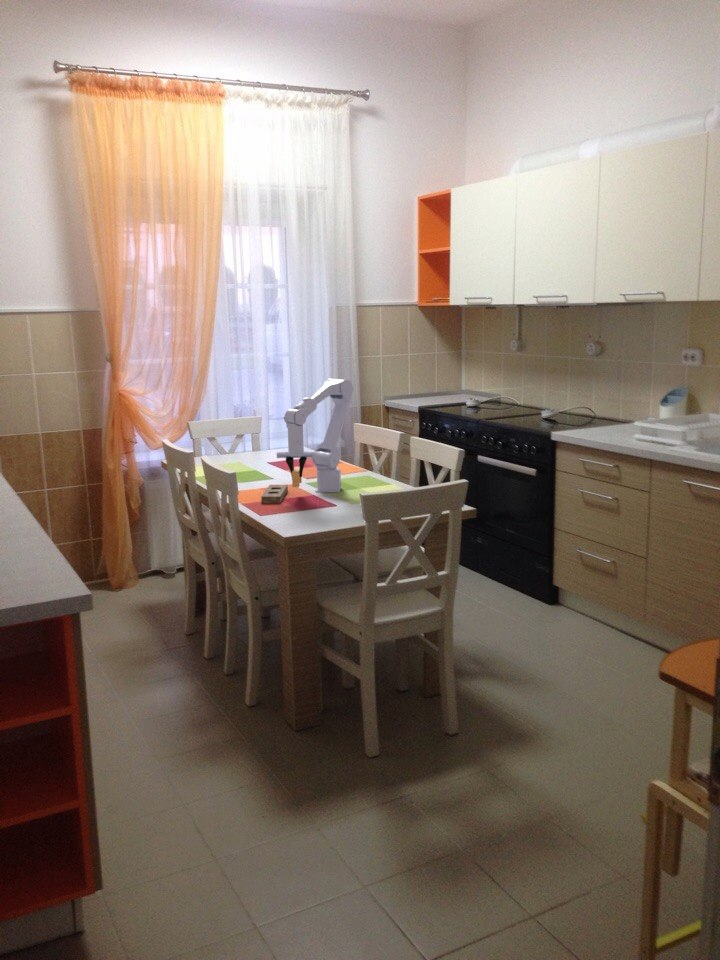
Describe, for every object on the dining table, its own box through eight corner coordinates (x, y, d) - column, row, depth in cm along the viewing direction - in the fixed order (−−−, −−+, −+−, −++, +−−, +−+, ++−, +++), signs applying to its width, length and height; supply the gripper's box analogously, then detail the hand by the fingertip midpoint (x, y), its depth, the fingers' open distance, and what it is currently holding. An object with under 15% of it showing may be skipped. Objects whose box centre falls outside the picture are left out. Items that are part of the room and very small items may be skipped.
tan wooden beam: (301, 481, 317) (301, 466, 316) (298, 487, 308) (298, 471, 306) (295, 481, 317) (295, 466, 316) (292, 487, 308) (291, 471, 306)
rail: (287, 490, 324) (287, 484, 323) (280, 503, 304) (280, 496, 303) (269, 490, 324) (269, 484, 323) (261, 503, 304) (261, 496, 304)
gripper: (274, 443, 305) (276, 478, 308) (313, 442, 305) (314, 478, 308) (277, 439, 312) (278, 474, 315) (315, 439, 312) (316, 474, 314)
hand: (296, 476), depth 312 cm, fingers closed on tan wooden beam, 2 cm apart
